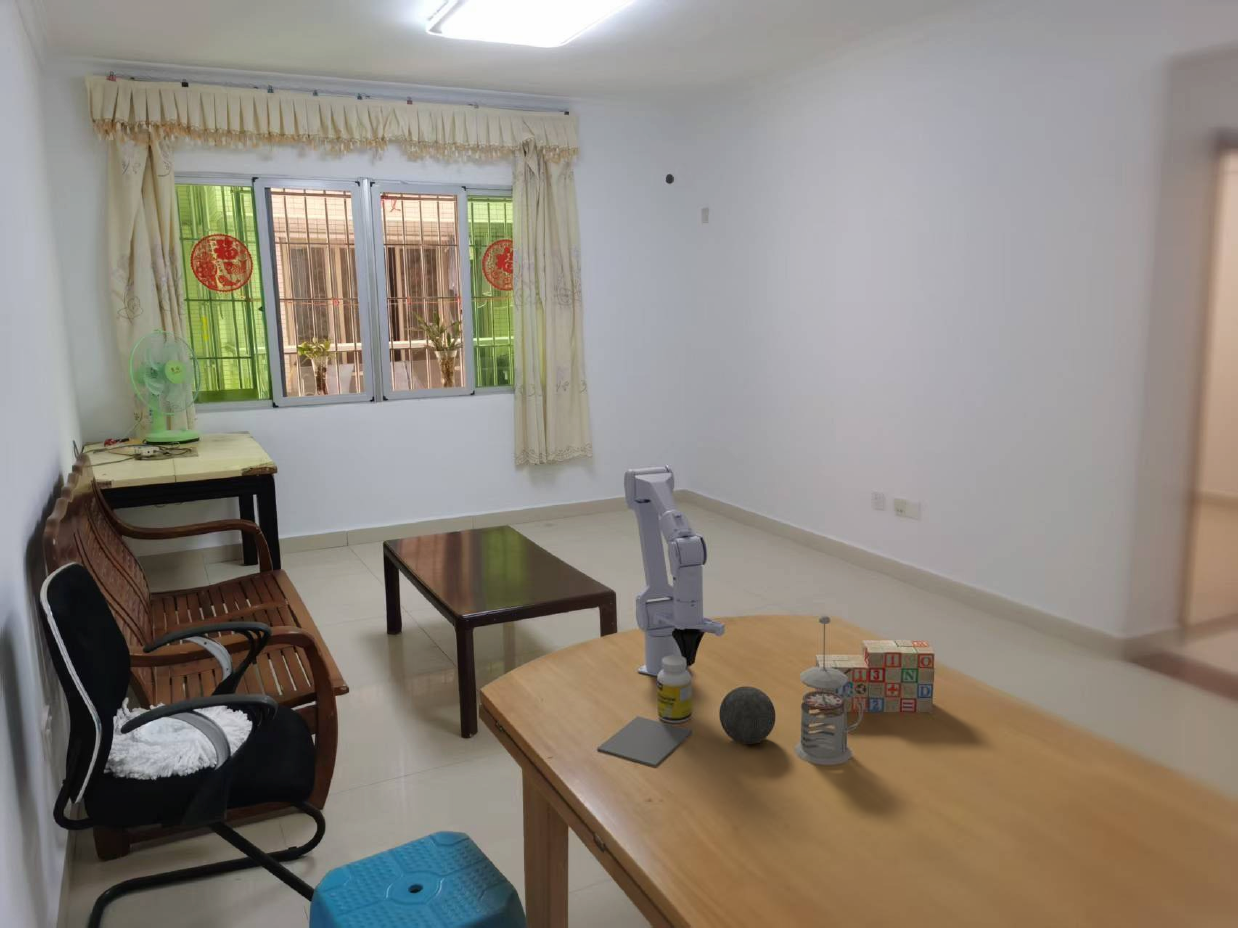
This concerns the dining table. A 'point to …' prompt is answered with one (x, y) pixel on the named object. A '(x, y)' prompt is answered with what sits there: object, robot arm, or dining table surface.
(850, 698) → the stack of blocks
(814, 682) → the french press
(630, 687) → the dining table surface
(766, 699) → the decorative ball
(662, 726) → the mat
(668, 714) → the pill bottle
